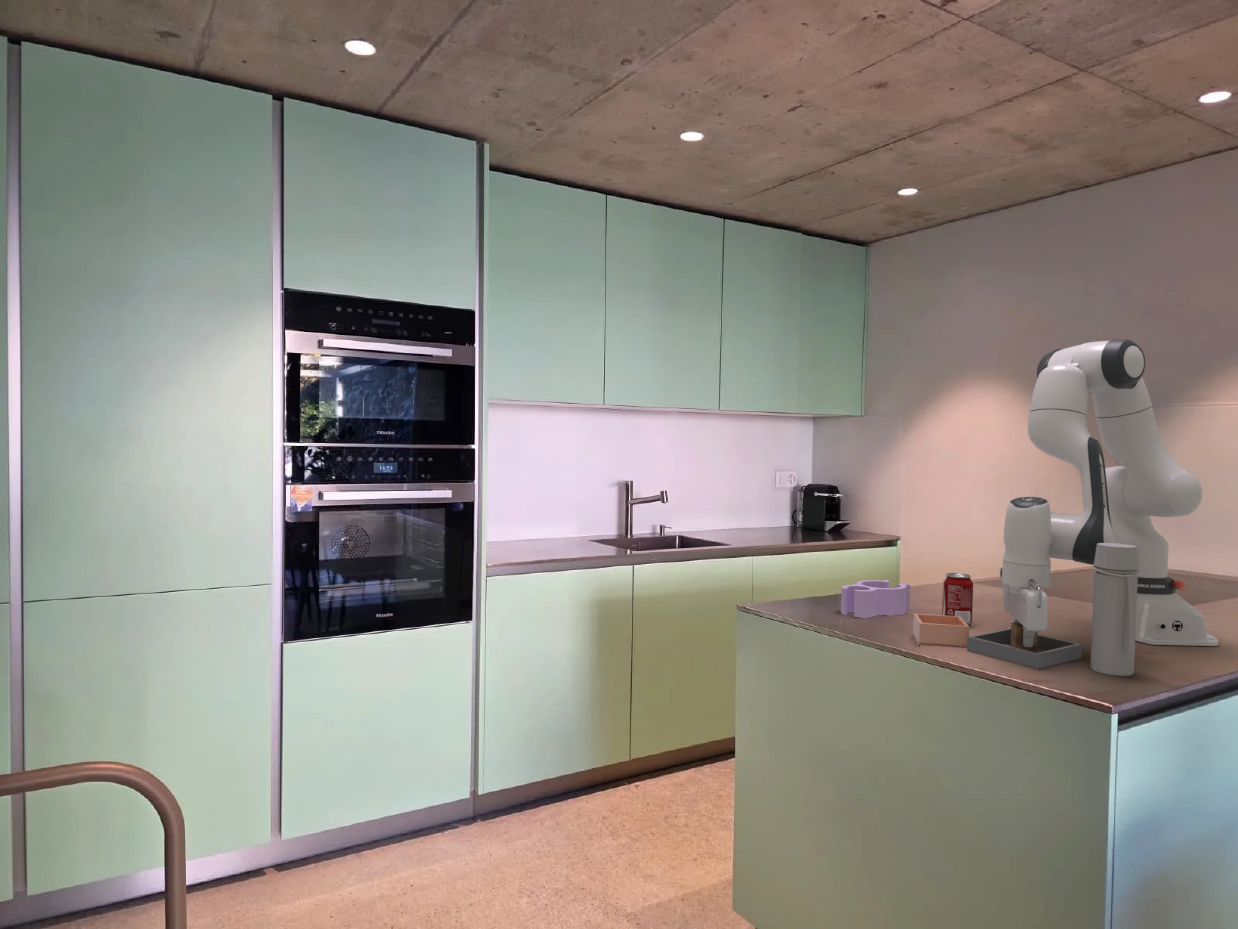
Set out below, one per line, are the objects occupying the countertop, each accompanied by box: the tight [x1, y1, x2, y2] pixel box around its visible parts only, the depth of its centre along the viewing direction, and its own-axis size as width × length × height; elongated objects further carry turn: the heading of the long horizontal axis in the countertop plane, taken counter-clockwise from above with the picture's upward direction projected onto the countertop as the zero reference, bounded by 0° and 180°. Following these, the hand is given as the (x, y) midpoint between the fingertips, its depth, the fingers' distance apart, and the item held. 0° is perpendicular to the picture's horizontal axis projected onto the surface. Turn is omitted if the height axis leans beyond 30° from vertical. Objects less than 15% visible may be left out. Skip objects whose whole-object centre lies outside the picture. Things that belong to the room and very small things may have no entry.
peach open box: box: [912, 613, 970, 648], centre depth 178 cm, size 10×10×5 cm
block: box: [1010, 622, 1039, 653], centre depth 167 cm, size 4×4×6 cm
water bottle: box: [1090, 543, 1142, 677], centre depth 155 cm, size 9×8×25 cm
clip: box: [840, 579, 911, 619], centre depth 209 cm, size 20×12×7 cm, turn 125°
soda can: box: [941, 572, 974, 626], centre depth 196 cm, size 7×7×12 cm
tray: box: [966, 627, 1083, 670], centre depth 167 cm, size 15×15×4 cm
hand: (1023, 642), depth 167 cm, fingers closed on block, 4 cm apart
